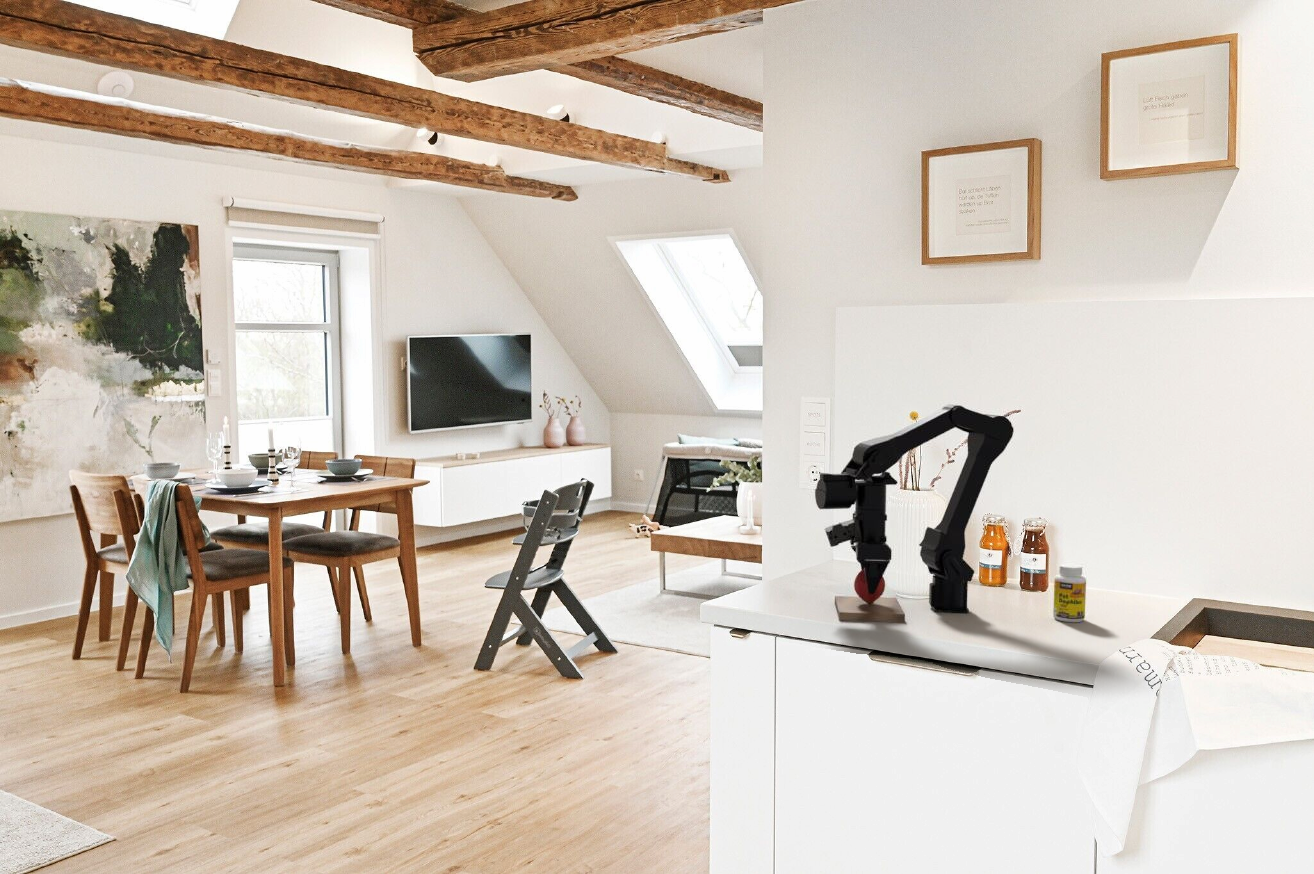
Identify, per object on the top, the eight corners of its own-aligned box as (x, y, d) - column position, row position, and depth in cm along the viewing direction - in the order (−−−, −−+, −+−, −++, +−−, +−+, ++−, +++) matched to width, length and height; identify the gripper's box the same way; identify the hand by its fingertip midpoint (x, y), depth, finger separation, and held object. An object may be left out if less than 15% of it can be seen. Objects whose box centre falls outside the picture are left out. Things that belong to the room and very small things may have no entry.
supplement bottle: (1053, 621, 201) (1055, 567, 200) (1052, 615, 206) (1054, 562, 205) (1086, 624, 199) (1087, 569, 198) (1083, 617, 205) (1085, 563, 204)
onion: (876, 608, 204) (876, 566, 203) (849, 604, 207) (849, 563, 207) (889, 603, 208) (889, 562, 208) (862, 599, 212) (862, 559, 211)
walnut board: (895, 605, 214) (896, 597, 214) (904, 622, 200) (904, 614, 200) (834, 603, 215) (834, 595, 215) (839, 620, 201) (839, 612, 201)
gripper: (825, 500, 216) (824, 578, 217) (830, 514, 198) (829, 598, 199) (881, 501, 215) (880, 579, 216) (892, 515, 196) (890, 600, 198)
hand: (869, 588), depth 207 cm, fingers open, 9 cm apart
